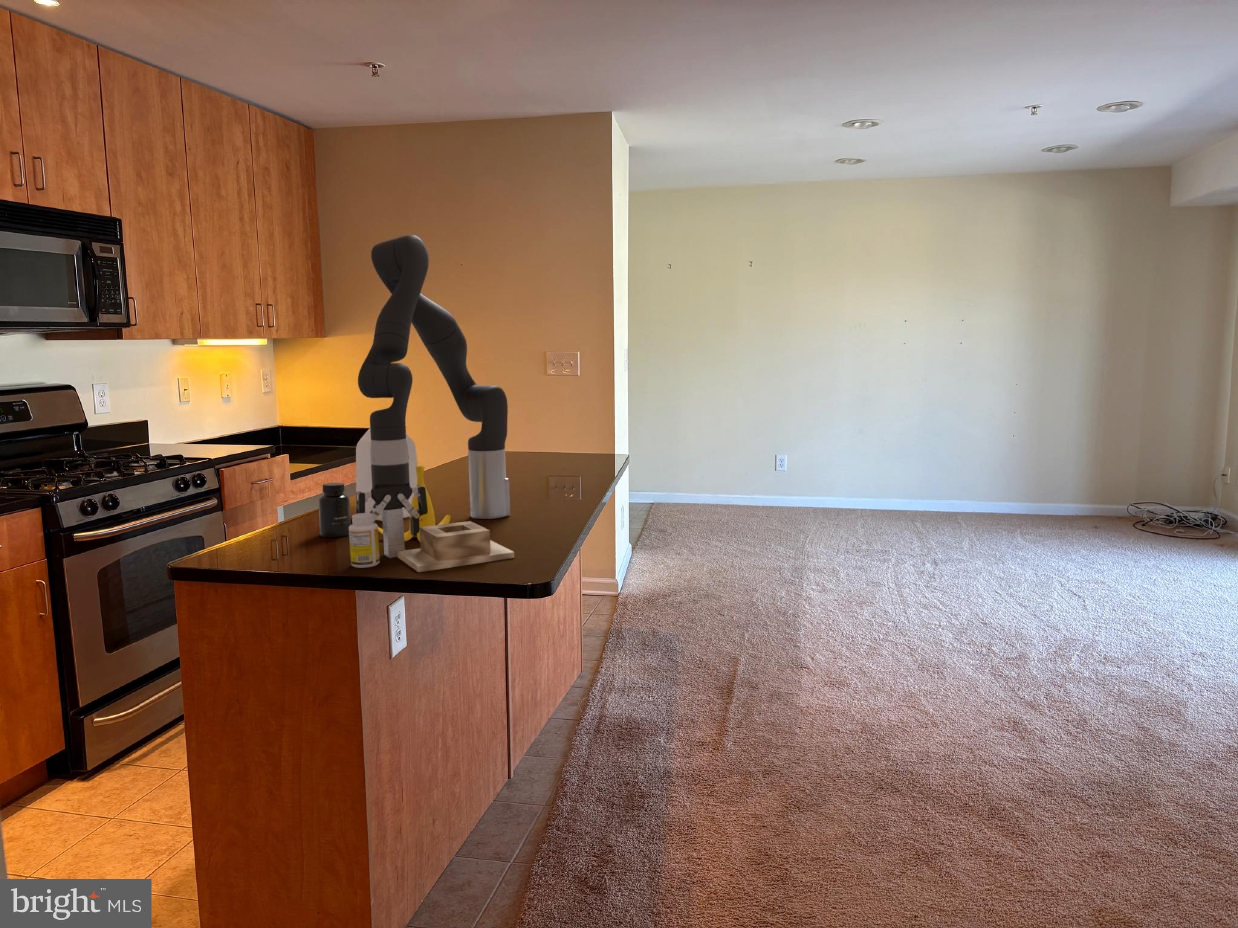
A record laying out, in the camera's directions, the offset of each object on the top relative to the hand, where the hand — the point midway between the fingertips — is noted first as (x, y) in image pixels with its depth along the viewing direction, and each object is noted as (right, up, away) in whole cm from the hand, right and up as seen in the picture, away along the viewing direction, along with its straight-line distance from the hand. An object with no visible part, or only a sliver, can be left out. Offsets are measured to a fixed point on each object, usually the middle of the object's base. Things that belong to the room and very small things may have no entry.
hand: (393, 538), depth 173 cm
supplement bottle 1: (-19, -1, +20) cm, 28 cm away
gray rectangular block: (0, -4, +1) cm, 4 cm away
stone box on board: (+13, -4, -2) cm, 14 cm away
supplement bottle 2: (-4, -5, -7) cm, 9 cm away
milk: (-13, +2, +43) cm, 45 cm away
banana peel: (+3, -1, +19) cm, 19 cm away
